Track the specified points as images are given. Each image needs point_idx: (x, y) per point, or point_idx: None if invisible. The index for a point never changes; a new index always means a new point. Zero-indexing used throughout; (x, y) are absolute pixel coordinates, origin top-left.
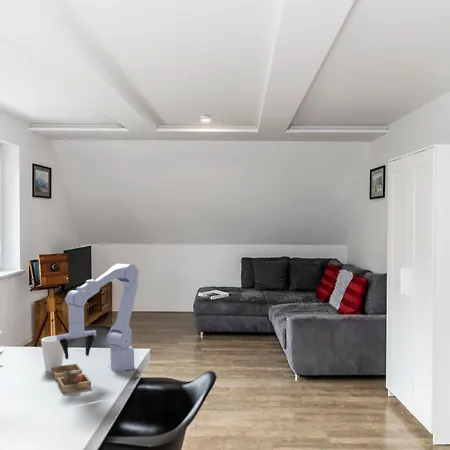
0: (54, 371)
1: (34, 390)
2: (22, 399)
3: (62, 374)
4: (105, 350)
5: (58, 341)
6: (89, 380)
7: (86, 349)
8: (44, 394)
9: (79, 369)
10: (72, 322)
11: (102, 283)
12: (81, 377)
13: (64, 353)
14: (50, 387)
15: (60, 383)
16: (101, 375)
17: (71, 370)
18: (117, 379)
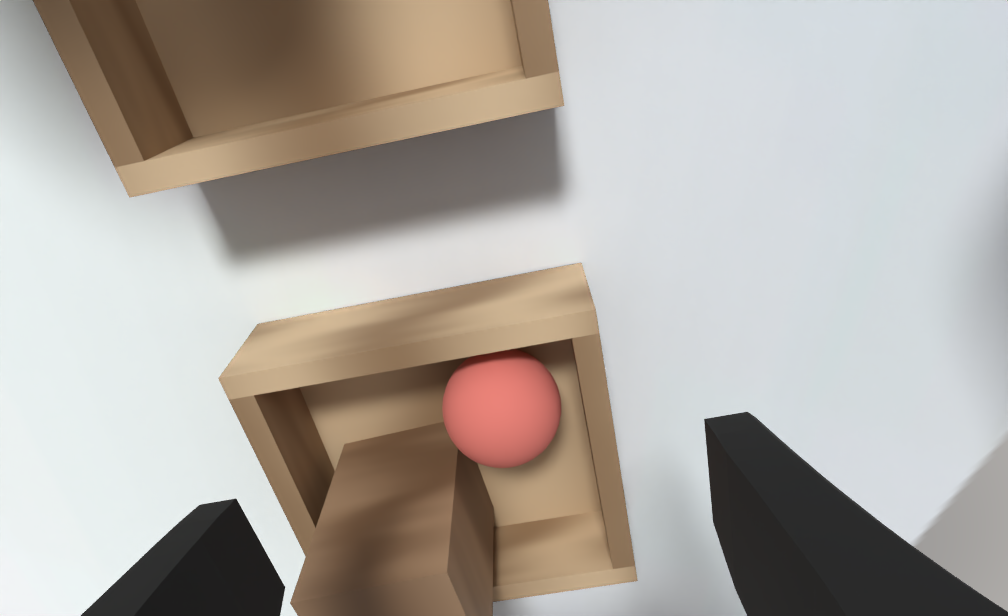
0: (51, 6)
1: (17, 370)
2: (5, 548)
3: (246, 170)
4: None
5: None
6: (626, 555)
7: (777, 602)
8: (177, 499)
9: (521, 52)
10: None
11: None
12: (541, 452)
13: (107, 591)
14: (178, 334)
15: (300, 541)
16: (843, 80)
17: (402, 588)
18: (971, 320)
